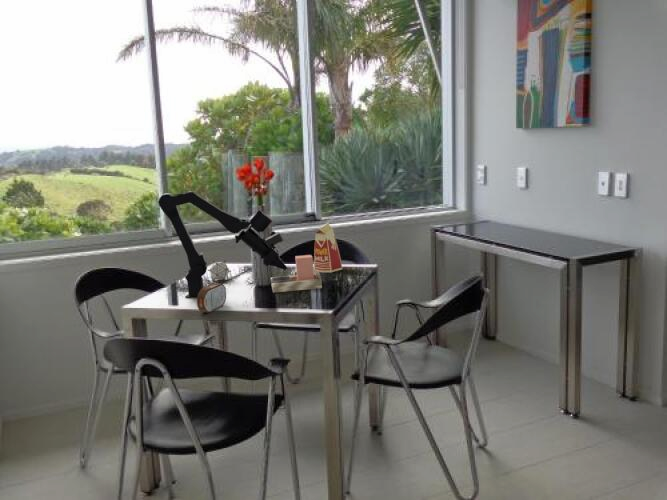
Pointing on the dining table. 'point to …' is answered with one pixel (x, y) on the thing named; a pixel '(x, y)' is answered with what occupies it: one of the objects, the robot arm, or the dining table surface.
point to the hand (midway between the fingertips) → (286, 268)
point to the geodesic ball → (219, 270)
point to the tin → (211, 297)
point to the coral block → (304, 267)
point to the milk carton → (326, 251)
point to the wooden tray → (295, 283)
